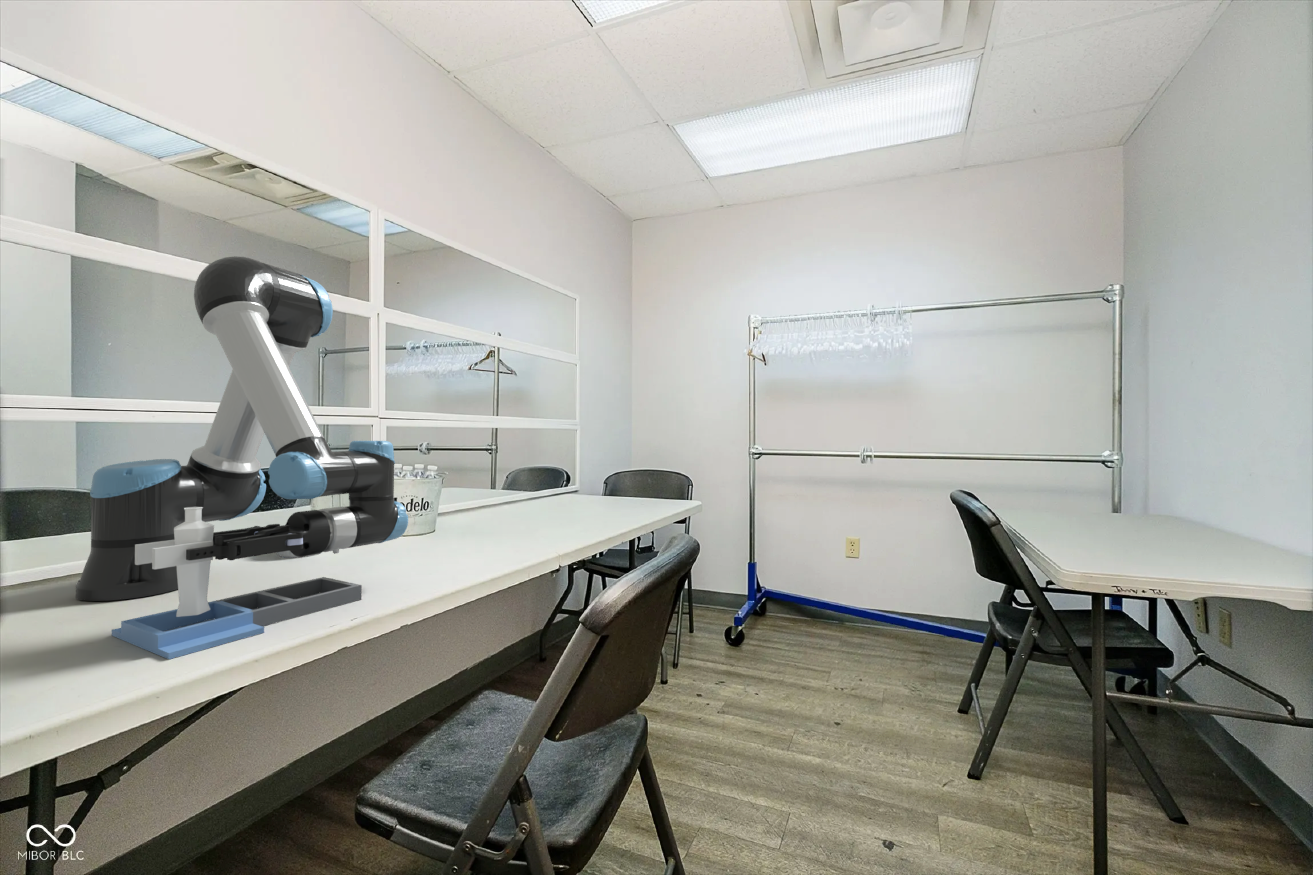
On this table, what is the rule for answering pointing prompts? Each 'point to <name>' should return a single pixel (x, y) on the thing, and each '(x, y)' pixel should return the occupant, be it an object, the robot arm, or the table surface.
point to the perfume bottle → (193, 564)
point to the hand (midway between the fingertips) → (145, 556)
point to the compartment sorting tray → (234, 617)
